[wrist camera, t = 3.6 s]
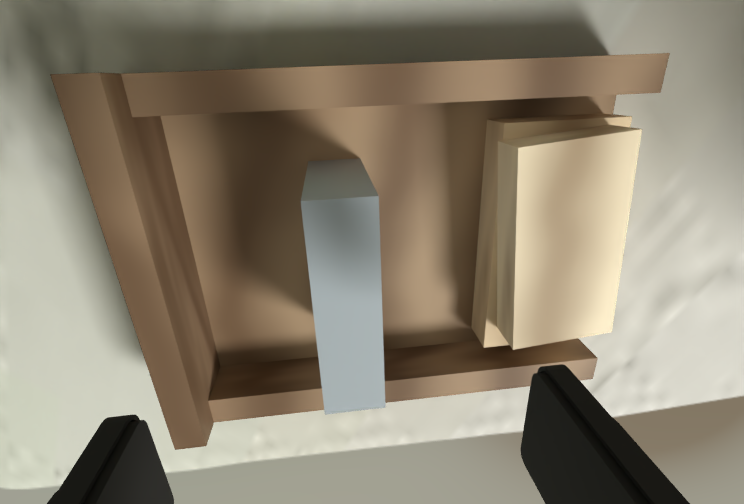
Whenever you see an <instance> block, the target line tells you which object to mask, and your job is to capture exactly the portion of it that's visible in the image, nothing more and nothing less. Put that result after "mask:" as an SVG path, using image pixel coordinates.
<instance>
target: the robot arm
mask: <svg viewBox="0 0 744 504" xmlns="http://www.w3.org/2000/svg"><path fill="white" fill-rule="evenodd" d="M521 455H522V459H523V462H524V464H525V466H526V468H527V470H528V472H529V474H530V476H531V477H532V479H533V481H534V483H535V485H536V486H537V489H538V490H539V492H540V494H541V496H542V498H543V500H544V502H545V503H546V504H690V503H689V502H688V501H687V500H686V499H685V498H684V497H683V496H682V494H681V493H680V492H679V491H678V490H677V489H676V488H675V486H674V485H673V484H672V483H671V482H670V481H669V480H668V479H667V477H666V476H665V475H664V474H663V473H662V472H661V471H660V469H658V467H657V466H656V465H655V464H654V463H653V462H652V460H651V459H650V458H649V457H648V456H647V455H646V454H645V453H644V451H643V450H642V449H641V448H640V447H639V446H638V445H637V443H636V442H635V441H634V440H633V439H632V438H631V437H630V436H629V434H628V433H627V432H626V431H625V430H624V429H623V428H622V426H620V424H619V423H618V422H617V421H616V420H615V419H614V418H612V417H611V416H610V415H609V414H608V412H607V411H606V410H605V409H604V408H603V407H602V406H601V404H600V403H599V402H598V401H597V400H596V399H595V398H594V396H593V395H592V394H591V393H590V392H589V391H588V390H587V389H586V387H585V386H584V385H583V384H582V383H581V382H580V381H579V379H578V378H577V377H576V376H575V375H574V374H573V373H572V371H571V370H570V369H569V368H568V367H567V366H566V365H563V364H559V365H550V366H542V367H540V368H539V369H538V372H537V373H534V374H533V376H532V380H531V386H530V393H529V399H528V405H527V412H526V418H525V424H524V431H523V438H522V444H521ZM47 504H174V499H173V495H172V492H171V489H170V486H169V484H168V481H167V478H166V475H165V472H164V469H163V467H162V464H161V461H160V458H159V456H158V453H157V450H156V447H155V444H154V442H153V439H152V436H151V433H150V430H149V428H148V425H147V423H146V421H144V420H139V418H138V416H136V415H126V416H118V417H109V418H106V419H105V420H104V421H103V422H102V423H101V425H100V426H99V428H98V429H97V431H96V433H95V434H94V436H93V437H92V439H91V440H90V442H89V443H88V445H87V447H86V448H85V450H84V451H83V453H82V454H81V456H80V458H79V459H78V461H77V462H76V464H75V465H74V467H73V468H72V470H71V472H70V473H69V475H68V476H67V478H66V479H65V481H64V482H63V484H62V486H61V487H60V489H59V490H58V491H57V492H56V493H55V494H54V495H53V496H52V498H51V499H50V500H49V502H48V503H47Z"/></svg>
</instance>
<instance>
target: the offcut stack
mask: <svg viewBox="0 0 744 504" xmlns="http://www.w3.org/2000/svg"><path fill="white" fill-rule="evenodd" d="M631 120H632V116H622V115H613V114H604V113H603V114H583V115H564V116H544V117H525V118H505V119H487V126H486V140H485V153H484V166H483V180H482V193H481V206H480V219H479V233H478V246H477V259H476V273H475V286H474V299H473V313H472V326H471V328H472V329H473V331H474V333H475V334H476V336H477V337H478V339H479V341H480V342H481V344H482V346H483V347H484V348H485V347H495V346H504V345H510V346H511V348H512V349H513V350H514V349H520V348H526V347H531V346H537V345H542V344H548V343H554V342H559V341H565V340H570V339H576V338H582V337H587V336H593V335H598V334H604V333H610V332H612V327H613V320H614V313H615V307H616V300H617V293H618V287H619V280H620V273H621V267H622V260H623V253H624V247H625V240H626V233H627V226H628V220H629V213H630V206H631V200H632V193H633V186H634V180H635V173H636V166H637V160H638V153H639V146H640V140H641V133H642V129H637V128H630V125H631Z"/></svg>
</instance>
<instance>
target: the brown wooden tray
mask: <svg viewBox="0 0 744 504" xmlns="http://www.w3.org/2000/svg"><path fill="white" fill-rule="evenodd" d="M669 54H670V53H662V54H635V55H608V56H581V57H555V58H528V59H501V60H474V61H447V62H421V63H394V64H367V65H340V66H313V67H287V68H260V69H233V70H206V71H179V72H153V73H126V74H117V73H76V74H50V75H51V78H52V81H53V84H54V87H55V90H56V93H57V96H58V99H59V102H60V105H61V108H62V111H63V114H64V117H65V120H66V123H67V126H68V129H69V132H70V135H71V138H72V141H73V144H74V147H75V150H76V153H77V156H78V159H79V162H80V165H81V168H82V171H83V174H84V177H85V180H86V183H87V186H88V189H89V192H90V195H91V198H92V201H93V204H94V207H95V210H96V213H97V216H98V219H99V222H100V225H101V228H102V231H103V234H104V237H105V240H106V243H107V246H108V249H109V252H110V255H111V258H112V261H113V265H114V268H115V271H116V274H117V277H118V280H119V283H120V286H121V289H122V292H123V295H124V298H125V301H126V304H127V307H128V310H129V313H130V316H131V319H132V322H133V325H134V328H135V331H136V334H137V337H138V340H139V343H140V346H141V349H142V352H143V355H144V358H145V361H146V364H147V367H148V370H149V373H150V376H151V379H152V382H153V385H154V388H155V391H156V394H157V397H158V400H159V403H160V406H161V409H162V412H163V415H164V418H165V421H166V424H167V427H168V430H169V433H170V436H171V439H172V442H173V445H174V448H175V450H177V449H185V448H194V447H202V446H206V445H207V442H208V439H209V436H210V433H211V429H212V426H213V423H214V422H221V421H230V420H239V419H247V418H256V417H265V416H273V415H282V414H291V413H300V412H308V411H317V410H324V402H323V394H322V385H321V376H320V367H319V358H318V350H317V341H316V332H315V323H314V315H313V306H312V297H311V288H310V279H309V271H308V262H307V253H306V244H305V236H304V227H303V218H302V209H301V197H302V191H303V186H304V181H305V176H306V171H307V166H308V161H322V160H339V159H356V158H360V159H361V161H362V163H363V165H364V167H365V169H366V171H367V173H368V175H369V177H370V179H371V181H372V183H373V185H374V187H375V189H376V192H377V194H378V196H379V220H380V252H381V283H382V315H383V346H384V378H385V403H387V402H395V401H404V400H413V399H421V398H430V397H439V396H448V395H456V394H465V393H474V392H482V391H491V390H500V389H509V388H517V387H526V386H531V380H532V376H533V374H534V373H537V372H538V369H539V368H540V367H542V366H550V365H559V364H563V365H566V366H567V367H568V368H569V369H570V370H571V371H572V373H573V374H574V375H575V376H576V377H577V378H578V379H579V380H587V379H593V375H594V371H595V367H596V363H597V357H596V356H595V355H594V354H593V353H592V352H591V351H590V350H589V349H588V348H587V347H586V346H585V345H584V344H583V343H582V342H581V341H580V340H579V339H578V338H576V339H570V340H565V341H559V342H554V343H548V344H542V345H537V346H531V347H526V348H520V349H514V350H513V349H512V348H511V346H510V345H504V346H495V347H485V348H484V347H483V346H482V344H481V342H480V341H479V339H478V337H477V336H476V334H475V333H474V331H473V329H472V328H471V326H472V313H473V299H474V286H475V273H476V259H477V246H478V233H479V219H480V206H481V193H482V180H483V166H484V153H485V140H486V126H487V119H505V118H525V117H544V116H564V115H583V114H603V113H604V114H613V110H614V105H615V100H616V95H619V94H640V93H660V92H661V88H662V84H663V79H664V75H665V71H666V67H667V62H668V58H669Z"/></svg>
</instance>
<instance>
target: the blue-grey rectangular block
mask: <svg viewBox="0 0 744 504" xmlns="http://www.w3.org/2000/svg"><path fill="white" fill-rule="evenodd" d="M301 209H302V218H303V227H304V236H305V244H306V253H307V262H308V271H309V279H310V288H311V297H312V306H313V315H314V323H315V332H316V341H317V350H318V358H319V367H320V376H321V385H322V394H323V402H324V411H325V414H333V413H342V412H351V411H359V410H368V409H377V408H385V378H384V346H383V315H382V283H381V252H380V220H379V196H378V194H377V192H376V189H375V187H374V185H373V183H372V181H371V179H370V177H369V175H368V173H367V171H366V169H365V167H364V165H363V163H362V161H361V159H360V158H356V159H339V160H322V161H308V166H307V171H306V176H305V181H304V186H303V191H302V197H301Z"/></svg>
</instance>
